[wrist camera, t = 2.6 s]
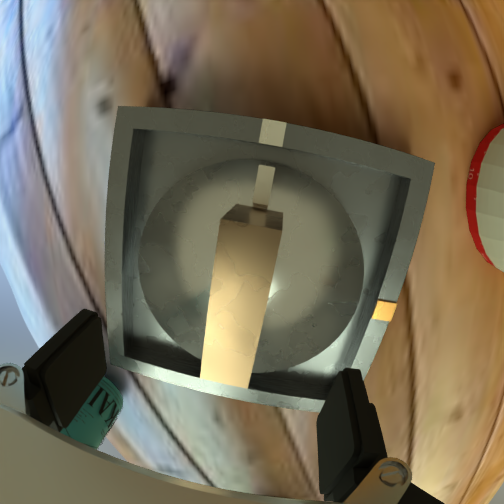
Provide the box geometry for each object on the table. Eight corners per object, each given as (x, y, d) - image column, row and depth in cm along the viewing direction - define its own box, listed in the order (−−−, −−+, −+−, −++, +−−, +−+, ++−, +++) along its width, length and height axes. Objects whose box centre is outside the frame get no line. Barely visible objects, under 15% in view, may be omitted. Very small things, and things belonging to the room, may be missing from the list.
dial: (326, 378, 24) (332, 431, 18) (142, 339, 25) (111, 382, 19) (385, 187, 19) (421, 199, 13) (154, 145, 20) (110, 143, 14)
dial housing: (340, 385, 27) (346, 416, 23) (128, 341, 28) (109, 365, 24) (411, 161, 20) (436, 163, 16) (143, 112, 21) (116, 105, 17)
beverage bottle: (88, 393, 32) (7, 507, 13) (78, 353, 30) (-26, 473, 11) (133, 410, 31) (61, 542, 12) (127, 369, 29) (31, 516, 10)
